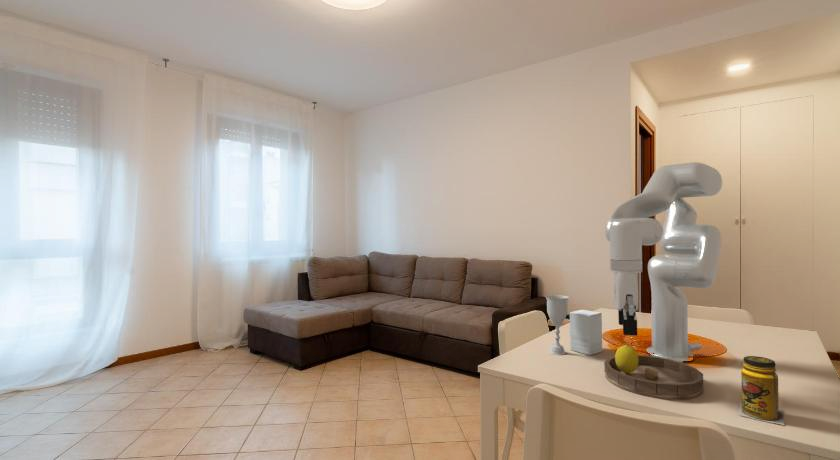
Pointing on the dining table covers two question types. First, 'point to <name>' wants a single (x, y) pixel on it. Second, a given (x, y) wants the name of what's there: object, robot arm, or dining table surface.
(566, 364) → the dining table surface
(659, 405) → the dining table surface
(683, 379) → the groove tray
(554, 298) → the chalice
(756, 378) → the condiment
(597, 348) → the supplement box
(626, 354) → the lemon
